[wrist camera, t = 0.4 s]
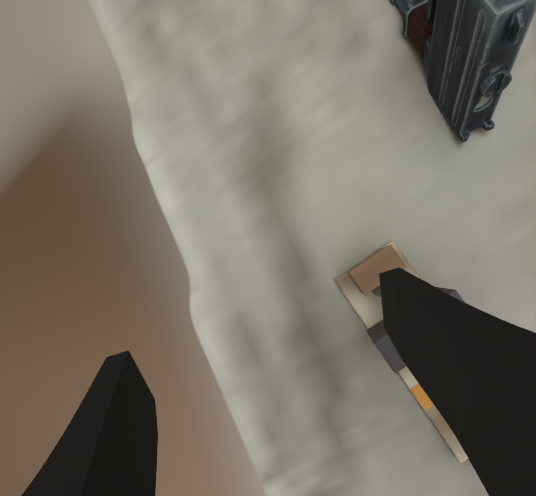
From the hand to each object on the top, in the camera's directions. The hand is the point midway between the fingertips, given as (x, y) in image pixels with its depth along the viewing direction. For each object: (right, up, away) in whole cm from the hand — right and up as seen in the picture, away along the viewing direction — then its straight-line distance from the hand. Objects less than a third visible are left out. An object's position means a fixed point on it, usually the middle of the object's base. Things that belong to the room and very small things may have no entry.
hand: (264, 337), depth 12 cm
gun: (+15, +19, +27) cm, 36 cm away
